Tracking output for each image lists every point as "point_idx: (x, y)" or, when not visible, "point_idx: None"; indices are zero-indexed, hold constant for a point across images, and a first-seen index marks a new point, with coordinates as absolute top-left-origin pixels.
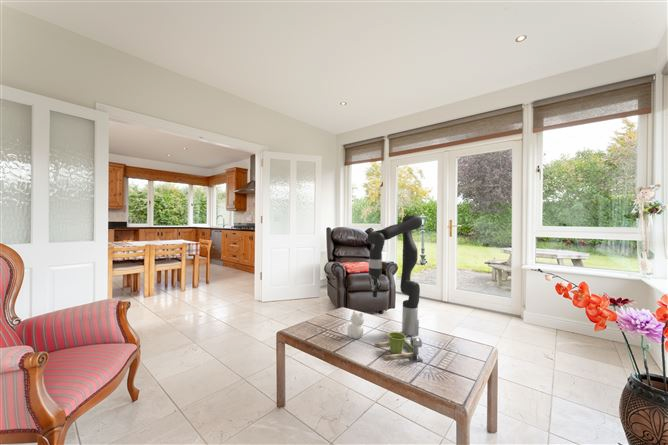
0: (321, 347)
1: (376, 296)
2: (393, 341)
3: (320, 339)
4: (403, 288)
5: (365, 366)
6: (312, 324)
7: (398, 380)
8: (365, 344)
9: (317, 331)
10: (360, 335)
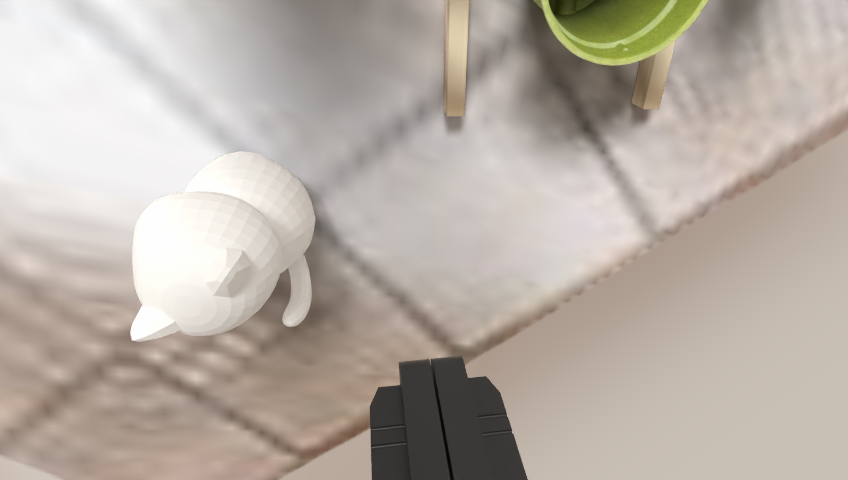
0: None
1: (461, 369)
2: (648, 28)
3: (295, 397)
4: None
5: (654, 243)
6: (36, 426)
7: (845, 126)
8: (399, 165)
9: (167, 405)
10: (305, 191)
